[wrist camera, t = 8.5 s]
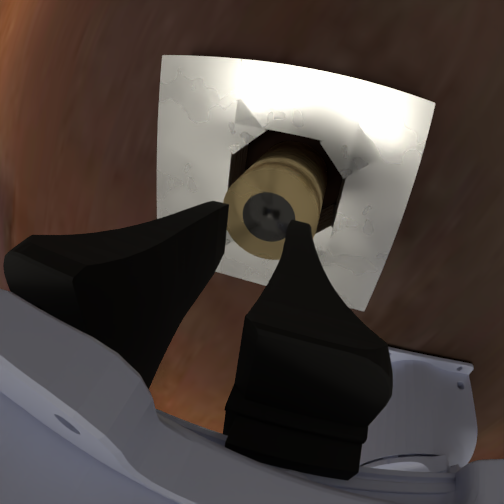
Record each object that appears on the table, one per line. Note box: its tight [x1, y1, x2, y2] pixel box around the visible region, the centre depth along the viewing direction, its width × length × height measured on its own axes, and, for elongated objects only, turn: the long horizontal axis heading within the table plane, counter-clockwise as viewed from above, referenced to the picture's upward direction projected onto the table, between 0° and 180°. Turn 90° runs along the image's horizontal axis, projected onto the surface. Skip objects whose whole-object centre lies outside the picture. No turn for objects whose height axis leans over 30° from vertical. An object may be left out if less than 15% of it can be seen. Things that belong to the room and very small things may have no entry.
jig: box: [157, 55, 435, 311], centre depth 17 cm, size 13×12×3 cm
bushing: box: [223, 141, 328, 260], centre depth 16 cm, size 4×4×6 cm
